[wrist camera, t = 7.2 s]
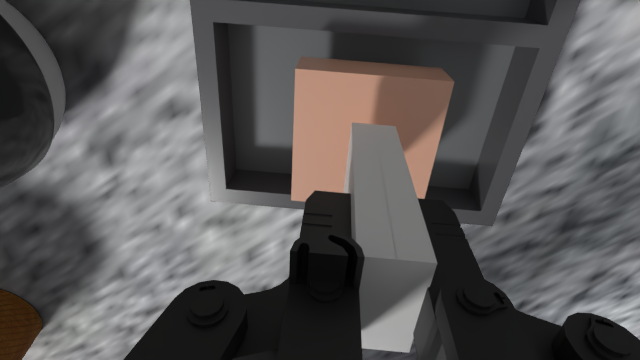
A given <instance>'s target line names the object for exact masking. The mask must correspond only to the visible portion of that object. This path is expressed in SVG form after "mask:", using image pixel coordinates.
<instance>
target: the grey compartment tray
mask: <svg viewBox="0 0 640 360" xmlns="http://www.w3.org/2000/svg"><path fill="white" fill-rule="evenodd" d="M579 3H580V0H190V5H191V15H192V24H193V34H194V43H195V53H196V62H197V72H198V81H199V91H200V100H201V110H202V119H203V129H204V138H205V148H206V157H207V167H208V177H209V186H210V196H211V201H214V202H226V203H237V204H248V205H260V206H271V207H282V208H294V209H304V208H305V202H304V201H292V200H291V189H292V156H293V124H294V92H295V68H296V66H297V64H298V62H299V60H300V58H301V56H302V57H314V58H326V59H338V60H351V61H363V62H375V63H388V64H400V65H412V66H424V67H437V68H442V69H443V70H444V71H445V72H446V73H447V74H448V75H449V76H450V78H451V79H452V80H453V81H454V86H453V90H452V94H451V97H450V101H449V105H448V109H447V113H446V117H445V121H444V125H443V129H442V132H441V136H440V140H439V144H438V148H437V152H436V156H435V160H434V164H433V168H432V171H431V175H430V179H429V183H428V187H427V191H426V195H425V199H432V200H443V201H444V202H445V203H446V204H447V205H448V206H449V207H450V208H451V209H452V210H453V211H454V212H455V214H456V216H457V218H458V220H459V223H464V224H476V225H487V226H493V223H494V221H495V218H496V216H497V213H498V211H499V208H500V205H501V203H502V200H503V198H504V195H505V193H506V190H507V188H508V185H509V182H510V180H511V177H512V175H513V172H514V170H515V167H516V164H517V162H518V159H519V157H520V154H521V152H522V149H523V146H524V144H525V141H526V139H527V136H528V134H529V131H530V129H531V126H532V123H533V121H534V118H535V116H536V113H537V111H538V108H539V105H540V103H541V100H542V98H543V95H544V93H545V90H546V87H547V85H548V82H549V80H550V77H551V75H552V72H553V70H554V67H555V64H556V62H557V59H558V57H559V54H560V52H561V49H562V46H563V44H564V41H565V39H566V36H567V34H568V31H569V28H570V26H571V23H572V21H573V18H574V16H575V13H576V11H577V8H578V5H579Z"/></svg>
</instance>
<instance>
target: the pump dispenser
mask: <svg viewBox="0 0 640 360" xmlns="http://www.w3.org/2000/svg"><path fill="white" fill-rule="evenodd" d="M64 111H65V85H64V81H63V76H62V73H61V70H60V67H59V65H58V62H57V60H56V58H55V56H54V54H53V52H52V50H51V49H50V47H49V45H48V44H47V42H46V41H45V40H44V38H43V37H42V36H41V34H40V33H39V32H38V30H37V29H36V28H35V27H34V26H33V25H32V24H31V23H30V22H29V21H28V20H27V19H26V18H25V17H24V16H23V15H22V14H21V13H20V12H19V11H18V10H16V9H15V8H14V7H13V6H12V5H10V4H9V3H8V2H6V1H5V0H0V188H2V187H4V186H6V185H8V184H10V183H12V182H13V181H15V180H17V179H18V178H20V177H22V176H23V175H25V174H26V173H28V172H29V171H31V170H32V169H33V168H35V167H36V166H37V165H38V164H39V163H40V162H41V161H42V160H43V158H44V157H45V155H46V154H47V152H48V150H49V148H50V146H51V143H52V140H53V138H54V137H55V135H56V133H57V131H58V130H59V127H60V125H61V122H62V119H63V115H64Z"/></svg>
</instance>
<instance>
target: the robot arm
mask: <svg viewBox="0 0 640 360" xmlns="http://www.w3.org/2000/svg"><path fill="white" fill-rule="evenodd" d="M413 339H414V341H415V347H416V352H417V360H640V340H639V339H638V338H637V337H635V336H634V335H633V334H632V333H630V332H629V331H628V330H627V329H625V328H624V327H622V326H620V325H618V324H617V323H615V322H613V321H611V320H609V319H607V318H604V317H601V316H598V315H595V314H592V313H576V314H573V315H570V316H568V317H567V319H566V320H565V322H564V324H563V325H562V326H559V325H556V324H553V323H551V322H548V321H545V320H542V319H539V318H536V317H533V316H530V315H527V314H525V313H522V312H520V311H518V310H516V309H515V308H514V306H513V304H512V302H511V301H510V300H509V298H508V297H507V296H506V294H505V293H504V292H503V291H501V290H500V289H499V288H498V287H496V286H495V285H494V284H492V283H490V282H488V281H486V280H484V278H483V275H482V273H481V271H480V268H479V266H478V264H477V262H476V259H475V257H474V255H473V252H472V250H471V248H470V246H469V243H468V241H467V239H465V234H464V232H463V230H462V228H460V223H459V220H458V218H457V216H456V214H455V212H454V211H453V210H452V209H451V208H450V207H449V206H448V205H447V204H446V203H445V202H444V201H443V200H432V199H421V198H417V195H416V192H415V188H414V185H413V182H412V178H411V175H410V172H409V169H408V165H407V162H406V159H405V156H404V152H403V149H402V146H401V142H400V139H399V136H398V133H397V129H396V126H388V125H376V124H364V123H351V132H350V140H349V149H348V157H347V165H346V174H345V182H344V193H338V192H327V191H316V190H315V191H314V192H313V193H312V194H311V195H310V196H309V197H308V198H307V200H306V202H305V208H304V215H303V220H302V226H301V232H300V238H299V239H297V240H296V241H295V242H294V244H293V246H292V248H291V250H290V272H289V278H288V279H287V280H285V281H284V282H283V283H282V284H280V285H278V286H276V287H274V288H272V289H269V290H265V291H262V292H256V293H250V294H245V295H244V294H243V293H242V292H241V290H240V289H239V288H238V287H237V286H235V285H233V284H231V283H229V282H225V281H217V280H211V281H205V282H199V283H197V284H195V285H193V286H191V287H188V288H186V289H185V290H184V291H183V292H181V293H180V294H179V295H178V296H177V297H176V298H175V299H174V300H173V301H172V302H171V303H170V305H169V306H168V307H167V308H166V309H165V311H164V312H163V313H162V314H161V315H160V317H159V318H158V319H157V320H156V321H155V323H154V324H153V325H152V326H151V327H150V329H149V330H148V331H147V332H146V333H145V335H144V336H143V337H142V338H141V339H140V341H139V342H138V343H137V344H136V345H135V347H134V348H133V349H132V350H131V351H130V353H129V354H128V355H127V356H126V357H125V359H124V360H362V348H365V349H375V350H385V351H396V352H406V353H409V351H410V348H411V345H412V342H413Z"/></svg>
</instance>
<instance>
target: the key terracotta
mask: <svg viewBox="0 0 640 360" xmlns="http://www.w3.org/2000/svg"><path fill="white" fill-rule="evenodd" d="M453 86H454V81H453V80H452V79H451V78H450V76H449V75H448V74H447V73H446V72H445V71H444V70H443V69H442V68H437V67H424V66H412V65H400V64H388V63H375V62H363V61H351V60H338V59H326V58H314V57H302V56H301V58H300V60H299V62H298V64H297V66H296V68H295V92H294V124H293V156H292V189H291V200H292V201H304V202H306V200H307V198H308V197H309V196H310V195H311V194H312V193H313V192H314V191H315V190H316V191H327V192H338V193H344V182H345V174H346V165H347V157H348V149H349V140H350V132H351V123H364V124H376V125H388V126H396V129H397V133H398V136H399V139H400V142H401V146H402V149H403V152H404V156H405V159H406V162H407V165H408V169H409V172H410V175H411V178H412V182H413V185H414V188H415V192H416V195H417V198H421V199H425V195H426V191H427V187H428V183H429V179H430V175H431V171H432V168H433V164H434V160H435V156H436V152H437V148H438V144H439V140H440V136H441V132H442V129H443V125H444V121H445V117H446V113H447V109H448V105H449V101H450V97H451V94H452V90H453Z"/></svg>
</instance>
